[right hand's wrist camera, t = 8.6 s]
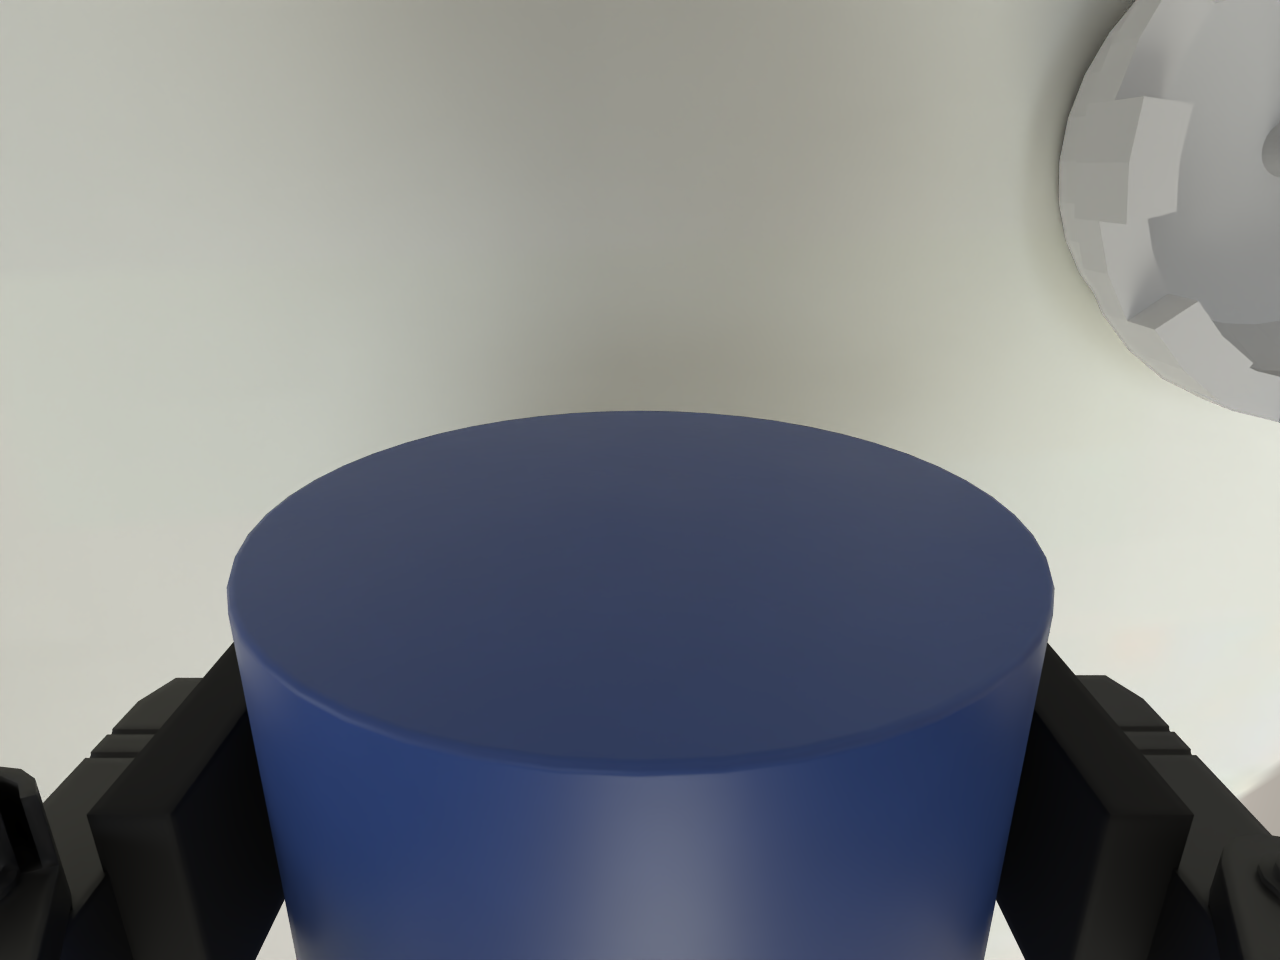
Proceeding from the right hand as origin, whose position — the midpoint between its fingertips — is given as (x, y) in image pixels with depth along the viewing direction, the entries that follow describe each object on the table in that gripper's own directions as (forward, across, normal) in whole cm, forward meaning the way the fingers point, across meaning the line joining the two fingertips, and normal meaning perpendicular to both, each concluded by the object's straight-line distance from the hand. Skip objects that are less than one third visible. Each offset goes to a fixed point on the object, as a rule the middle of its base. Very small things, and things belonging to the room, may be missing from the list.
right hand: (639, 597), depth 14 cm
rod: (0, 0, -8) cm, 8 cm away
